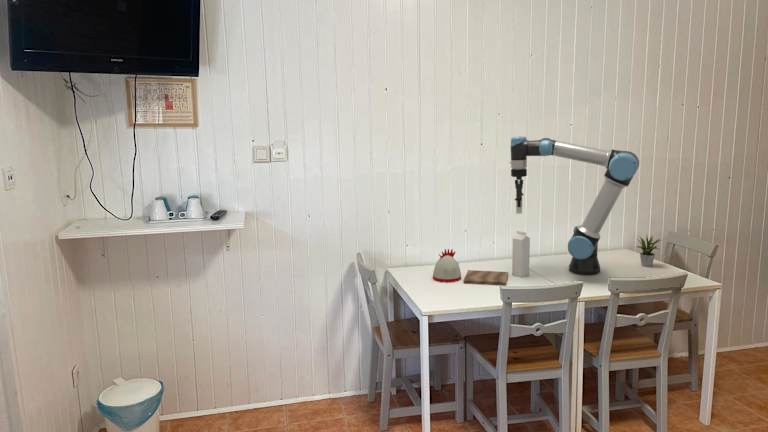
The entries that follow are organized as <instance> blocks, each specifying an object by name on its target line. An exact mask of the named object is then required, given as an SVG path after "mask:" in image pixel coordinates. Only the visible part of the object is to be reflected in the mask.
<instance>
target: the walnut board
mask: <svg viewBox="0 0 768 432" xmlns="http://www.w3.org/2000/svg"><path fill="white" fill-rule="evenodd" d="M508 278H509V271H492V270H475V269H474V270H471V269H469V270H467V272H466V274H465V276H464V279H463V282H462V283H463V284H468V285H469V284H470V285H471V284H472V285H488V286H489V285H491V286H507V283H506V282H508Z"/></svg>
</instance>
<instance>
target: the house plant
mask: <svg viewBox="0 0 768 432" xmlns="http://www.w3.org/2000/svg"><path fill="white" fill-rule="evenodd" d="M645 236H646V237H645V239H643V238H642V237H641V236H640V235H638V237H639V239H640V240H639V239H638V238H636V240H637V241H638V243H640V244H641V245H637V246H635V248H639V249H641V250H642V252H640V253H639V258H640V265H641V267H645V268H646V267H647V268H651V267H653V263H654V259H655V256H656V254H655V252H654V251H656V250H658V251H661V248H660V247H659V246H660V245H657V244H658V243H659V242H661V241H662V239H663V238H658V239H657V240H655V241H654V242H653V238H654V236H653V235H651V236H650V238H648V235H647V234H646V235H645ZM645 240H646V241H645ZM652 251H653V252H652Z"/></svg>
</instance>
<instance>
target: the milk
mask: <svg viewBox="0 0 768 432" xmlns="http://www.w3.org/2000/svg"><path fill="white" fill-rule="evenodd" d="M530 244H531V238H530V237H529V236H527V232H524V231H520V230H517V231H516V234H515V235H514V236H513V237H512V250H511V251H512V254H511V255H512V257H511V258H512V259H511V260H512V262H511V263H512V264H511V266H512V267H511V268H512V269H511V275H512V276H515V277H518V276H519V278H523V277H528V276H529V275H530V253H531V252H530V250H531V245H530Z"/></svg>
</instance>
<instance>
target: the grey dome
mask: <svg viewBox="0 0 768 432" xmlns="http://www.w3.org/2000/svg"><path fill="white" fill-rule="evenodd" d="M438 255H439V257H440V258H439V259H438V260H437V261H436V263H435V265H434V268H433V269H434V270H433V271H432V272H433V273H432V279H433V281H436V282H438V283H457V282H459V281H461V280H462V272H461V269H460V263H458V261H457V260H456V259H455V258H454V256H455V255H456V250H455V251H453V248H451V249H449V248H447V249H446V248H444V252H443V251H441V254H440V253H438Z"/></svg>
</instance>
